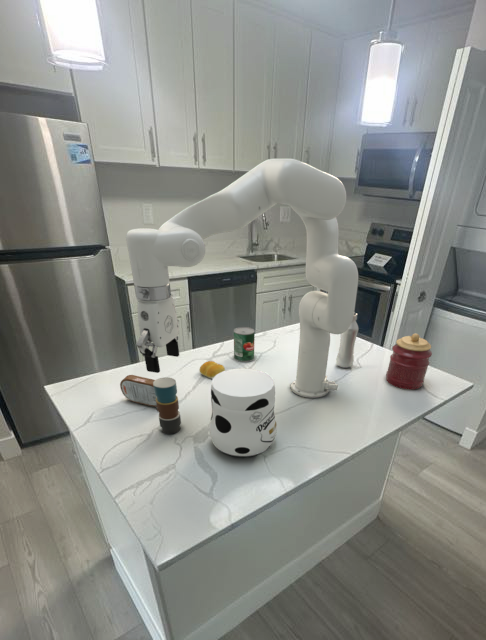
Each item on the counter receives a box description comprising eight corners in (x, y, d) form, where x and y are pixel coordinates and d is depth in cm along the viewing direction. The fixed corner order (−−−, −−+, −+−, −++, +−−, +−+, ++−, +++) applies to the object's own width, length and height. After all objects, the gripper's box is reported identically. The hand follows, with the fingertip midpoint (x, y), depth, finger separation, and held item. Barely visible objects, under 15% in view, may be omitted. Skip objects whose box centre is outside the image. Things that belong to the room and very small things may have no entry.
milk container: (284, 457, 94) (289, 394, 84) (216, 468, 90) (212, 403, 80) (266, 421, 108) (268, 363, 98) (206, 428, 104) (201, 369, 94)
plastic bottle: (355, 365, 143) (364, 313, 132) (348, 371, 138) (357, 317, 127) (339, 361, 146) (347, 309, 135) (332, 366, 141) (339, 314, 130)
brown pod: (183, 411, 102) (181, 395, 99) (173, 421, 97) (171, 405, 95) (164, 407, 103) (162, 392, 100) (154, 417, 98) (151, 402, 96)
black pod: (185, 425, 105) (183, 410, 102) (175, 436, 100) (173, 421, 97) (167, 422, 106) (165, 407, 103) (156, 432, 101) (154, 417, 98)
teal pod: (181, 395, 99) (179, 379, 96) (171, 405, 95) (169, 388, 92) (162, 392, 100) (160, 376, 98) (151, 402, 96) (148, 385, 93)
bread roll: (213, 381, 128) (213, 370, 125) (196, 373, 132) (195, 363, 130) (230, 373, 133) (230, 363, 131) (213, 366, 137) (212, 356, 135)
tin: (169, 405, 113) (166, 380, 108) (164, 410, 111) (160, 385, 106) (127, 396, 117) (122, 371, 112) (121, 400, 114) (116, 375, 110)
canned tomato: (236, 353, 149) (236, 326, 143) (255, 354, 148) (256, 327, 142) (231, 361, 142) (231, 333, 136) (252, 363, 141) (252, 334, 135)
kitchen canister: (409, 394, 125) (423, 344, 116) (377, 380, 133) (388, 332, 124) (429, 383, 133) (444, 335, 123) (398, 370, 141) (409, 324, 131)
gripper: (147, 304, 75) (159, 380, 84) (186, 284, 89) (193, 352, 98) (114, 300, 76) (130, 376, 86) (157, 281, 90) (167, 348, 100)
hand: (163, 363), depth 92 cm, fingers open, 9 cm apart
